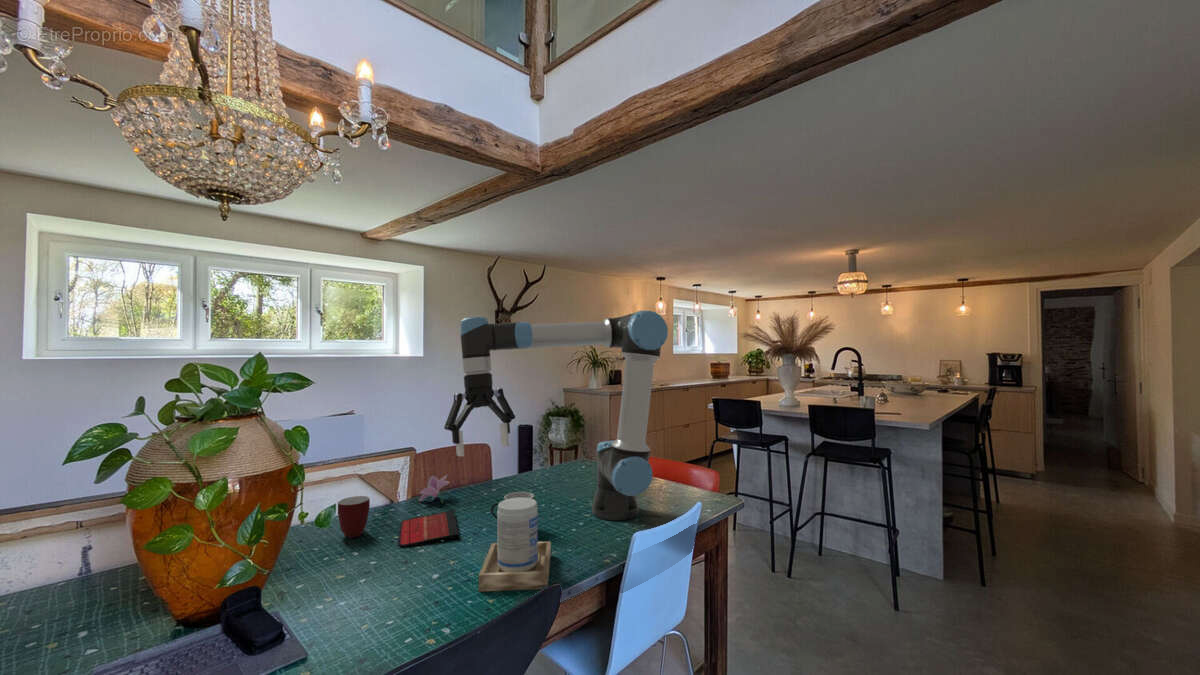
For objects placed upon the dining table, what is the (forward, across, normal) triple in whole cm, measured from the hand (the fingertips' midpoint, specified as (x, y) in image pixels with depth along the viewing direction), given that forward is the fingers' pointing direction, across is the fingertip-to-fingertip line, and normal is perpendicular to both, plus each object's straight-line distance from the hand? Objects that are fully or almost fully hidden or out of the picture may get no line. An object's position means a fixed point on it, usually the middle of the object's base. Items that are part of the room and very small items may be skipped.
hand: (483, 450), depth 126 cm
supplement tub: (+25, +3, +18) cm, 31 cm away
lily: (+22, -5, -47) cm, 52 cm away
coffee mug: (+26, -10, -4) cm, 28 cm away
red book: (+24, +8, -22) cm, 34 cm away
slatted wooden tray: (+27, +3, +18) cm, 32 cm away
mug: (+22, +24, -34) cm, 48 cm away
